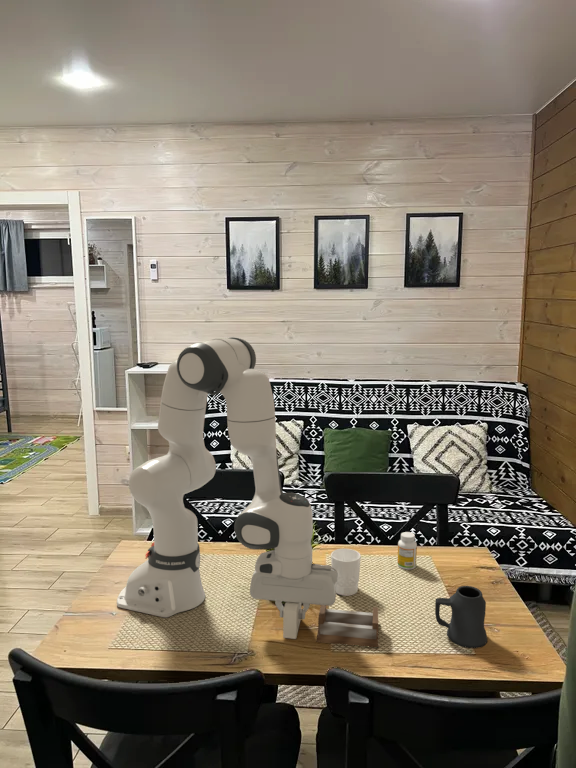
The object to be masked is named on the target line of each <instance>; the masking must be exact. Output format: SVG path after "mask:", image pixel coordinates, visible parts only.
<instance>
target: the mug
mask: <svg viewBox="0 0 576 768" xmlns="http://www.w3.org/2000/svg"><path fill="white" fill-rule="evenodd" d="M434 603H435V604H434V605H435V606H434V609H435V612H434V613H435V620H436V622H437V624H438V625H440V626H441V627H445V628H446V629H447V631H446V636H447V638H448V639H449V641H451V642H452V643H453V644H455V645H456V646H459V647H462V648H467V649H478V648H483V647H484V646H486V644H487V643H488V636H487V631H486V628H485V619H486V618H485V617H486V609H487V608H486V607H487V600H486V599H485V598H484V596H483V592H482V591H481V590H480V588H477V587H475V586H471V585H461V586H458V587H457V588H456V590H455V593H453V594H452V595H451V596H450V597H439V598H438V597H436V598H435V602H434ZM441 606H447V607H450V609H451V617H450V622H449V623H448V622H447V621H446V620H444V619H442V618H441V616H440V610H441V609H440V608H441Z"/></svg>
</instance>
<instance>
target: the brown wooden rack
mask: <svg viewBox="0 0 576 768" xmlns="http://www.w3.org/2000/svg"><path fill="white" fill-rule="evenodd" d="M317 623H318V626H317V633H316V642H317V643H325V644H333V645H335V644H336V645H344V646H354V645H359V646H358V647H364V646H369V647H368V648H374V647H378V648H379V625H380V624H379V607H375V606H373V607H372V612H363V611H353V610H342V609H332V608H327V605H320V608H319V612H318V617H317ZM346 644H347V645H346Z"/></svg>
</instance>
